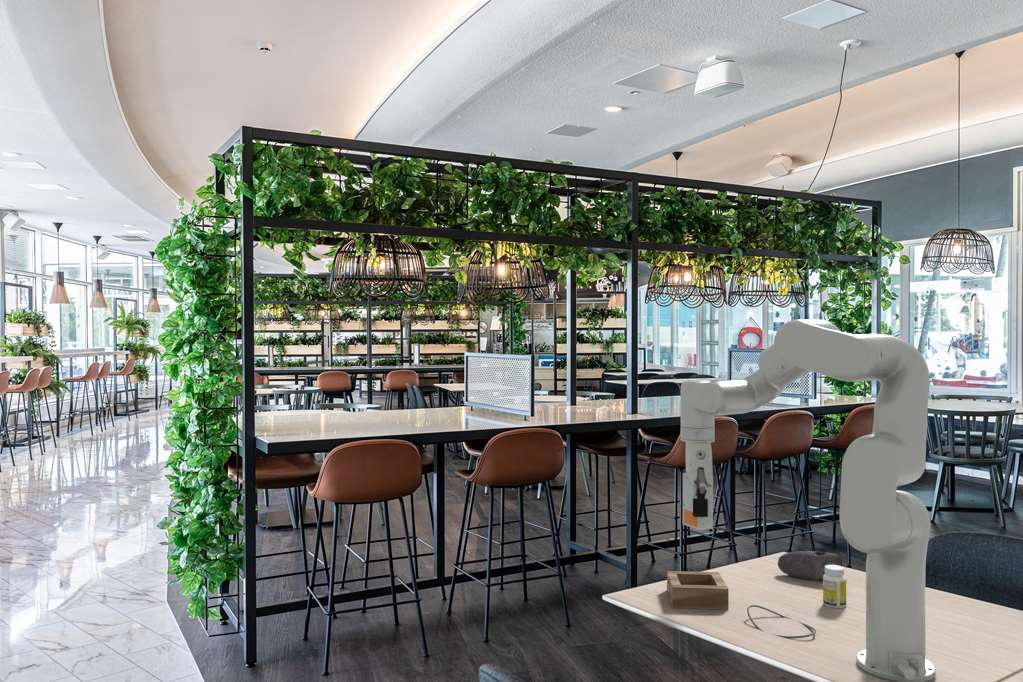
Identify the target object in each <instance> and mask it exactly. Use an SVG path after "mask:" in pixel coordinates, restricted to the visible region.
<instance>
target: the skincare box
mask: <svg viewBox="0 0 1023 682" xmlns="http://www.w3.org/2000/svg"><path fill="white" fill-rule="evenodd" d="M697 475H698V473H697ZM706 482H707V481H706ZM696 484H697V485H699V480H698V481H697V482H696ZM706 486H707V499H708V516H707V517H694V516H693V498H694V488H693V486H691V485H690V484H689V480H688V475H687V473H686V472H684V473H682V525H684V526H687V527H689V528H692V529H695V530H697V531H705V530H712V529H714V485H713V486H712V487H709V486H710V485H708V484H707V483H706ZM697 489H698V488H697Z"/></svg>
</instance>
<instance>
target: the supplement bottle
mask: <svg viewBox="0 0 1023 682" xmlns="http://www.w3.org/2000/svg"><path fill="white" fill-rule="evenodd" d="M825 573H826V574H824V575H823V580H822V603H823V604H824V605H825V606H826V607H829V608H833V609H844V608H846V607H847V578H846V576H845V568H844V567H843V566H838V565H826V566H825Z"/></svg>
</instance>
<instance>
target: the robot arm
mask: <svg viewBox="0 0 1023 682" xmlns="http://www.w3.org/2000/svg"><path fill="white" fill-rule="evenodd" d="M757 365H758V368H759V369H757V370H755V371H753V372H752V373H751V374H749V375H747V376H746V377H744V378H742V379H730V380H728V379H727V380H716V381H714V380H713V381H710V380H706V379H705V380H703V379H689V380H684V381H682V382H681V385H680V441H681V442H683V443H685V473H687V475H688V480H689V484H690V485H691V486H693V488H694V498H693V516H694V517H707V516H708V499H707V486H706V483H707V484H708V485H710V486H709V487H712V486H713V487H714V475H713V471H714V470H713V452H712V443H714V442H715V441H716V440H715V437H716V436H715V435H716V434H715V432H716V431H715V429H716V428H715V422H716V421H715V417H718V416H719V417H720V416H729V415H739V414H747V413H749V412H750V413H751V412H753V411H756V410H757V409H759V408H761V407H763V406H765V405H767V404H768V403H771V402H772V401H774V400H775V399H776V398H778V397H779V396H780V395H781V394H782V392H783V391H784V390H785V389H786V387H787V386H789V385H790V384H793V383H794V382H796V381H797V380H799V379H801V378H803V377H804V376H806V375H808V374H810V373H812V372H813V373H816V374H820V375H822V376H825V377H828V378H831V379H835V380H838V381H843V382H848V383H852V382H854V383H855V382H856V383H858V382H870V381H871V382H872V381H873V382H874V381H877V382H879V384H880V386H879V388H880V389H879V391H878V393H877V396H876V399H875V402H874V407H873V424H872V425H873V426H872V431H871V432H872V433H871V434H866V435H865V434H864V435H863V436H860V437H858V438H856V439H854V440H853V441H852V442H851V443H850V444H849V445H848V447H847V448H846V451H845V452H844V454H843V458H842V463H841V475H840V476H841V478H840V496H839V497H840V498H839V499H840V500H839V524H840V529H841V533H842V535H843V537H844V538H845V540H846V542H847V543H848V544H849V545H850V546H851V547H852V548H854V549H855V550H857V551H858V552H861V553H865V554H866V561H865V641H866V642H865V649H862V650H860V651H859V652H858V653H857V654H856V663H857V665H858V666H859V667H860V668H861V670H863V671H865V672H866V673H869V674H870V675H873V676H875V677H878V678H881V679H885V680H889V681H892V682H929V681H931V680H933V679H935V677H936V667H935V665H934V664H933V663H932V662H931V661H930V660H928V659H927V658H926V563H927V561H926V560H927V553H928V545H929V540H930V533H931V518H930V513H929V511H928V509H927V507H926V505H925V504H924V502H922V500H921V499H920V498H919V497H918V496H916V495H914V494H912V493H910V492H907V491H905V490H897V489H898V487H902V486H905V485H908V484H911V483H914V482H916V481H917V480H918V479H920V478H921V477H922V475H923V474H924V472H925V467H926V462H927V461H926V460H927V459H926V457H927V456H926V455H927V453H926V452H927V436H928V435H927V433H928V410H929V409H928V407H929V396H930V385H931V384H930V383H931V382H930V381H931V379H930V371H929V368H928V364H927V361H926V359H925V358H924V356H923V355H922V353H921V352H920V351H919V350H918V349H917V348H916V347H915V346H914V345H912V344H911V343H910V342H908V341H907V340H904V339H903V338H900V337H897V336H894V335H889V334H882V333H868V334H867V333H865V334H864V333H863V334H861V333H860V334H859V333H855V334H852V333H847V332H843V331H841V330H840V329H839V327H837V326H836V325H835V324H834V323H832V322H830V321H827V320H823V319H802V318H800V319H792V320H789V321H786V322H785V323H783V324H782V325H781V326H780V327H779V328H778V329H777V331H776V333H775V335H774V338H773V344H771V345H770V346H768V347H766V348H765V349H764V350H762V351H761V352H760V353H759V355H758V358H757ZM697 473H698V475H697ZM698 480H699V485H697V484H696V482H697V481H698ZM706 481H707V482H706ZM697 488H698V489H697Z"/></svg>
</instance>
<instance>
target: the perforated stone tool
mask: <svg viewBox="0 0 1023 682" xmlns="http://www.w3.org/2000/svg"><path fill="white" fill-rule="evenodd" d="M777 560H778V562H777V567H778V568H779V570H780V571H781V572H782V573H783V574H786V575H787V576H790V577H793V578H794V577H795V578H801V579H802V578H803V580H808V579H810V580H811V581H815V580H816V581H815V582H817V580H818V581H823V575H824V574H826V573H825V566H826V565H838V566H842V567H843V566H844V565H843V556H841V554H839V553H834V552H826V551H814V550H803V551H802V550H800V551H799V550H797V551H790V552H787V553H784V554H782V555H780V556H779V557H778V559H777Z"/></svg>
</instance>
